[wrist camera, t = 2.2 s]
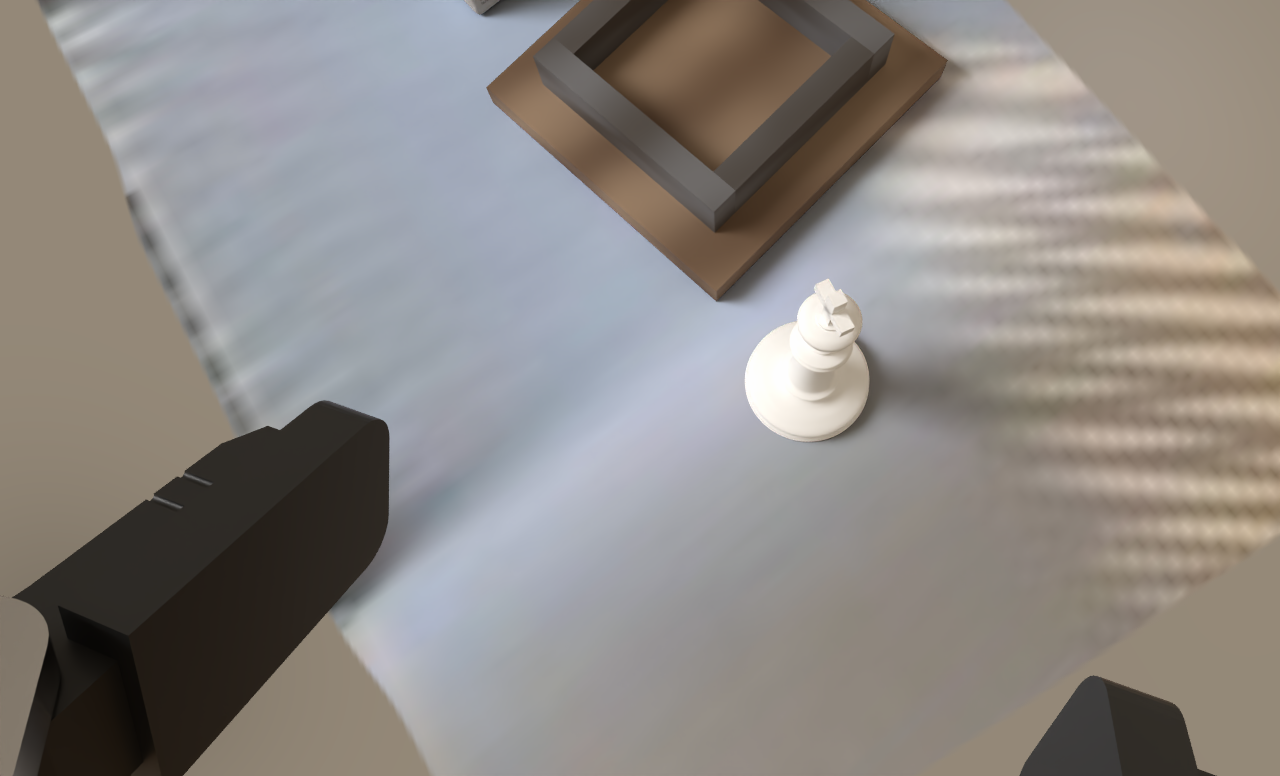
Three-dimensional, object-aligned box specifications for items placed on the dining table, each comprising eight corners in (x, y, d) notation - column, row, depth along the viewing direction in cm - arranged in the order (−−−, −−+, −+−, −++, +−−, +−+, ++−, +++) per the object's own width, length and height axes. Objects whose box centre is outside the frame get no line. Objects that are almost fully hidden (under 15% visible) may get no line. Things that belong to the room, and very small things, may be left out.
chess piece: (833, 304, 35) (874, 193, 25) (890, 410, 34) (956, 336, 24) (724, 353, 35) (724, 261, 25) (777, 461, 34) (798, 408, 24)
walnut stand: (493, 102, 39) (473, 60, 36) (707, -97, 40) (705, -155, 37) (716, 301, 36) (715, 273, 32) (940, 77, 37) (960, 29, 34)
